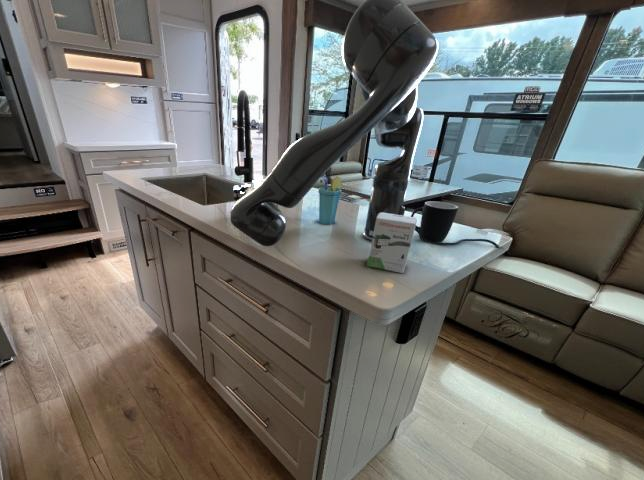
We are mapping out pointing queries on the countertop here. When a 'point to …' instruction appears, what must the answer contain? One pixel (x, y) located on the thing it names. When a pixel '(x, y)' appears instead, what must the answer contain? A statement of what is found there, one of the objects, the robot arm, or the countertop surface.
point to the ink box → (391, 242)
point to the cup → (329, 200)
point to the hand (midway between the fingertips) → (261, 188)
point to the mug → (436, 220)
